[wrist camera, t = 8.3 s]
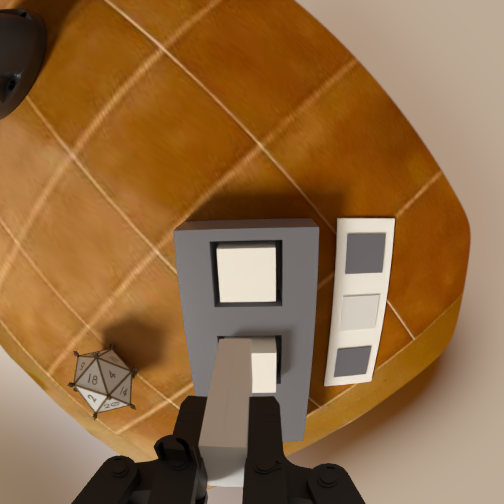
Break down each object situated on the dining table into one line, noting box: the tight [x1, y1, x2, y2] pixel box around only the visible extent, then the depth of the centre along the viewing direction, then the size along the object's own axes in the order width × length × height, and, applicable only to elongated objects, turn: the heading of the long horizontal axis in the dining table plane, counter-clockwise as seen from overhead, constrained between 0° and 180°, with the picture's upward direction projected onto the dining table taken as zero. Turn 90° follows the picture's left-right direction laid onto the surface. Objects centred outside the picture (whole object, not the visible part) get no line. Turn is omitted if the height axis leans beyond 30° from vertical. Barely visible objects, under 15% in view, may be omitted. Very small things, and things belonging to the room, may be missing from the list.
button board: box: [173, 218, 319, 442], centre depth 31 cm, size 26×12×4 cm, turn 2°
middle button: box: [224, 335, 276, 393], centre depth 29 cm, size 5×5×3 cm
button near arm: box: [217, 240, 276, 302], centre depth 28 cm, size 5×5×3 cm
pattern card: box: [324, 218, 395, 386], centre depth 32 cm, size 20×6×1 cm, turn 2°
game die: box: [67, 342, 138, 420], centre depth 31 cm, size 9×8×10 cm
